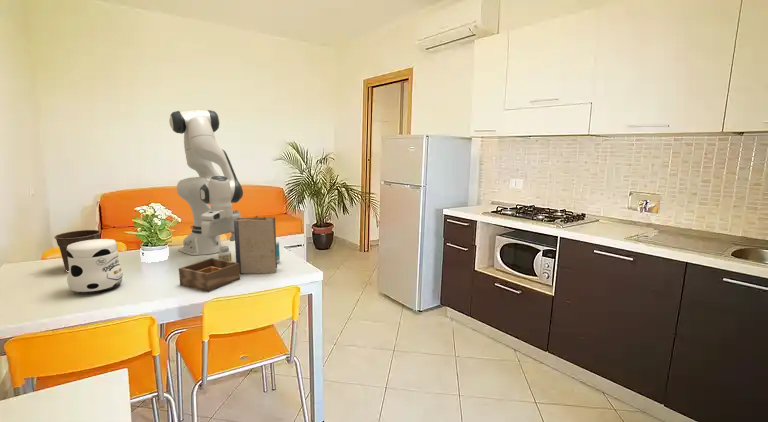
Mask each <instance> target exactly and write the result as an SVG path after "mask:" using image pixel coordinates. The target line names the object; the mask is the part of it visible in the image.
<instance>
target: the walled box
mask: <svg viewBox="0 0 768 422" xmlns="http://www.w3.org/2000/svg"><path fill="white" fill-rule="evenodd" d="M178 274H179V275H178V276H179V285H180V286H183V287H187V288H191V289H196V290H199V291H203V292H207V293H210V292H213V291H215V290H217V289H220V288H222V287H225V286H227V285H229V284H232V283H235V282H237V281H239V280H241V273H240V267H239V263H236V261H235V262H234V261H231V262H230V261H225V260H219V259H218V258H214V257H211V258H208V259H204V260H202V261H198V262H195V263H192V264H189V265H185V266H183V267H179V268H178Z"/></svg>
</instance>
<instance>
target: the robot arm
mask: <svg viewBox="0 0 768 422" xmlns="http://www.w3.org/2000/svg"><path fill="white" fill-rule="evenodd" d="M220 124H221V123H220V118H219V115H218V113H217V112H216V111H215V110H212V109H211V110H210V109H207V110H203V109H192V110H191V109H190V110H177V111H176V110H175V111H172V113H171V114H170V116H169V126H170V128H171V130H172V131H173V132H174V133H176V134H183V145H184V146H183V147H184V153H185V154H184V155H185V159H186V165H187V166H188V167H189V168H190V169H191V170H194V171H195V172H196V173H197V174H198V176H192V177H187V178H186V177H185V178H183V179H181V180H179V181H178V182H177V185H176V192H177V195H178V196H179V198H181V199H183V200H184V201H185V202H186V203H187V204H188V205H189V207H190V209H191V212H192V219H193V225H191V226H189V227H190V228H191V232H190V233H189V234H188V235H187V236H186V237H184V239H183V242H182V243H183V244H182V247H179V248H178V252H181V253H184V254H186V255H190V256H199V255H200V256H201V255H212V254H217V253H219V252H220V250H219V248H220V247H223V245H222V242H221V237H220V235H225V234H229V233H231V234H230V237H229V242H235V231H234V219H236V218H242V216H241V212H240V211H239V210H238V209H237V210H233V204H234V203H235V204H236V203H238V202H239V201H241V199H242V198H243V197H244V192H243V187H242V185H241V183H240V182H239V180H238V178H237V176H236V173H235V171H234V168H233V165H232V163H231V159H230V158H229V156H228V154H227V151H225V150H224V149H223V148H221V147H220V146H219V144H218V143H217V141H216V137H215V132H216V131H218V130H219V129H220ZM213 163H214V164H215V165H217V166H218V167H219V168H220V169H221V171H222V174H223V175H221V174H219V173H218V171H217V170H216V169H215V167H214V165H213Z"/></svg>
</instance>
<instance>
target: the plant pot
mask: <svg viewBox="0 0 768 422" xmlns="http://www.w3.org/2000/svg"><path fill="white" fill-rule="evenodd" d="M100 234H102V232H101V230H98V229H83V230H75V231H74V230H73V231H68V232H63V233H58V234H56V235H55V236H54V237H53V238H54V239H55V241H56V244H57V246H58V247H59V248H58V249H59V251H60V254H61V257H62V262H63V266H64V269H65V271H66V270H67V271H69V264H68V259H67V257H68V256H67V246H68V245H70V244H72V243H76V242H80V241H86V240H94V239H101V235H100Z"/></svg>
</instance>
